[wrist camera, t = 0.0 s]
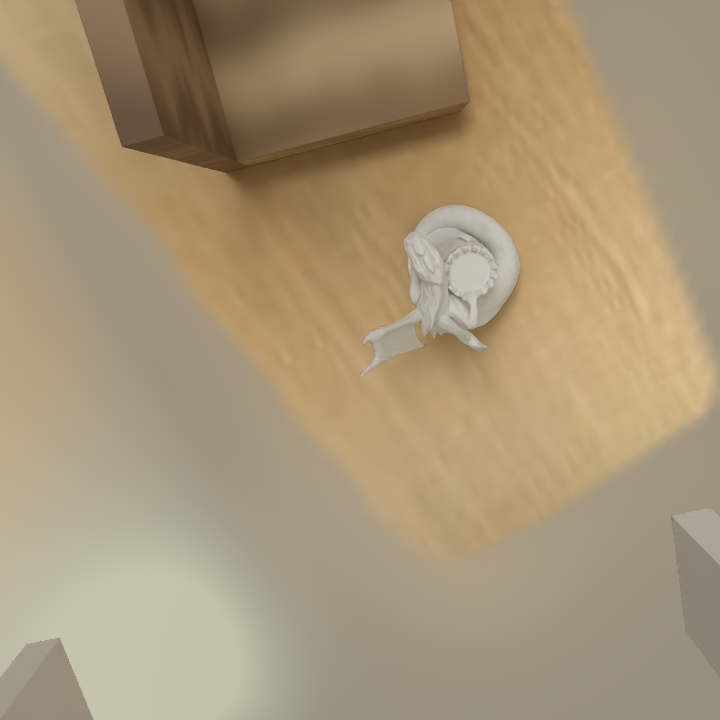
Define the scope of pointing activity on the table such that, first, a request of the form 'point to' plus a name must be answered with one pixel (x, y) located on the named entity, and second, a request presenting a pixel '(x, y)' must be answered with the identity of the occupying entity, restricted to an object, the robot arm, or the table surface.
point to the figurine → (451, 280)
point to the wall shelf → (270, 73)
